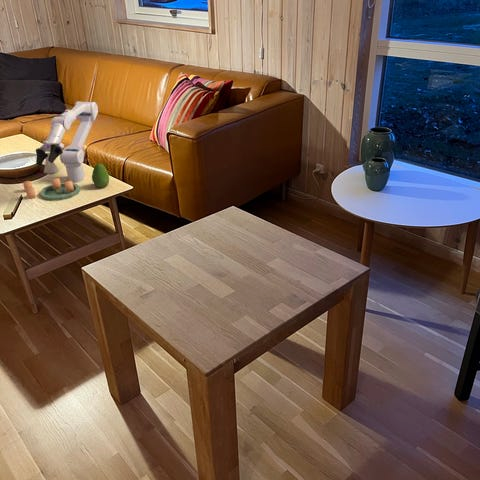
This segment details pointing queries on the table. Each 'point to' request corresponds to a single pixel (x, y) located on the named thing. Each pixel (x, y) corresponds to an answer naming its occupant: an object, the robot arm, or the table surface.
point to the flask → (50, 166)
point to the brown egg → (27, 184)
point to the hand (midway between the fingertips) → (44, 163)
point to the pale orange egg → (30, 193)
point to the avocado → (100, 176)
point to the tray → (58, 192)
